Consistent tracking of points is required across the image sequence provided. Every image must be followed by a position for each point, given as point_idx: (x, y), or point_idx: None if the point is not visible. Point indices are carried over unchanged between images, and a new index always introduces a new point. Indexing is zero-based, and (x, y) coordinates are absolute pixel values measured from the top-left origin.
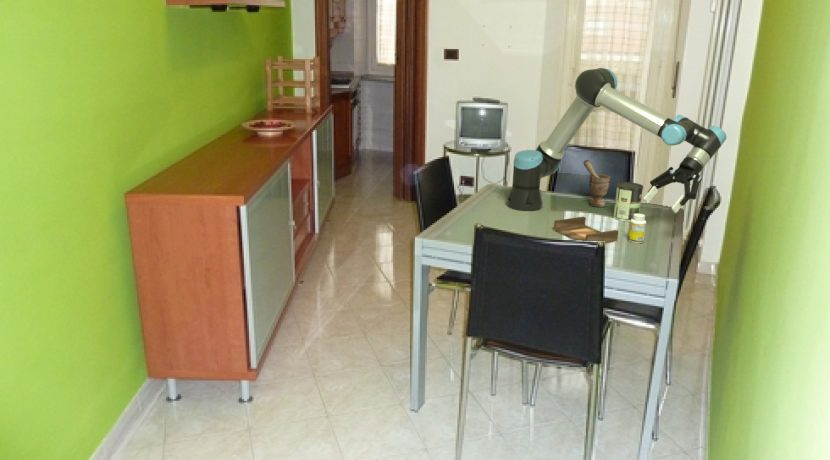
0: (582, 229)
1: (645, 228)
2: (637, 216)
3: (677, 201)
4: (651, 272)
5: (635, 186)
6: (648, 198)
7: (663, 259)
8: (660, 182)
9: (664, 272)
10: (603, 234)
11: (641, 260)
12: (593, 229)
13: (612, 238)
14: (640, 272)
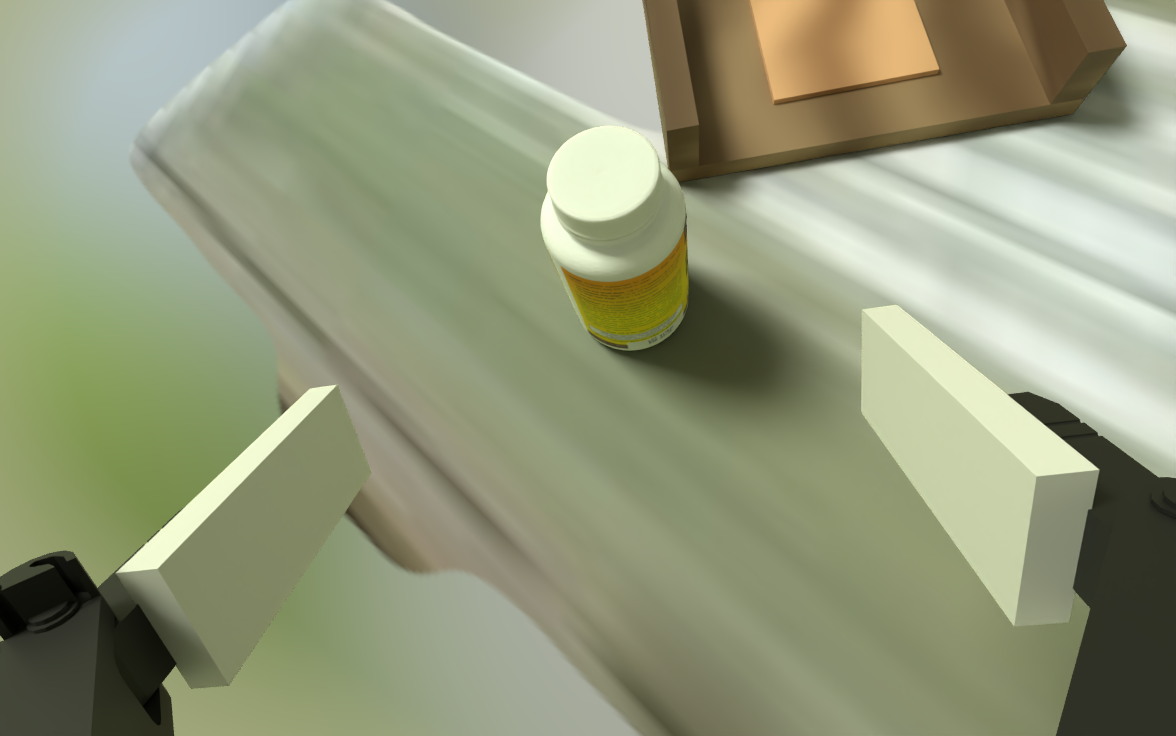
0: (912, 35)
1: (569, 288)
2: (574, 137)
3: (255, 457)
4: (220, 113)
5: None
6: (886, 389)
7: (305, 270)
8: (1096, 629)
9: (187, 168)
10: (650, 26)
11: (351, 150)
12: (913, 113)
13: (663, 127)
14: (246, 70)
